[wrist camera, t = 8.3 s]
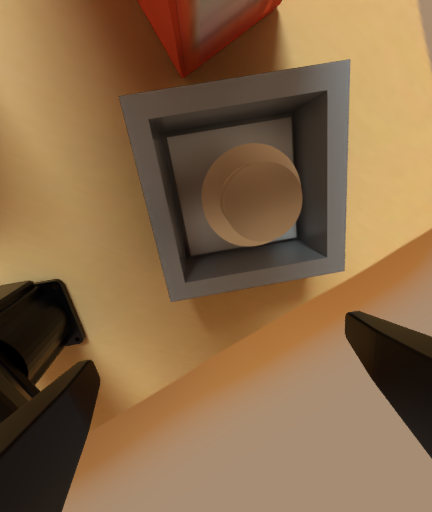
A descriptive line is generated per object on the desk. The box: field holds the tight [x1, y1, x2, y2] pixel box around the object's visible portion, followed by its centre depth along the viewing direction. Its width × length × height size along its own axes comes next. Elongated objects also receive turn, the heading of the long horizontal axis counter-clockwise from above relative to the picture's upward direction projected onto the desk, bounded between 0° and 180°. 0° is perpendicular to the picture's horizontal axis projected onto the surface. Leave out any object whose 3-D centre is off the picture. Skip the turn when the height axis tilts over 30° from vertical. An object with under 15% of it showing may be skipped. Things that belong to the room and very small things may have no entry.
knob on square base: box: [167, 117, 303, 256], centre depth 15 cm, size 9×9×8 cm
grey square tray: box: [119, 59, 350, 302], centre depth 17 cm, size 12×12×6 cm
